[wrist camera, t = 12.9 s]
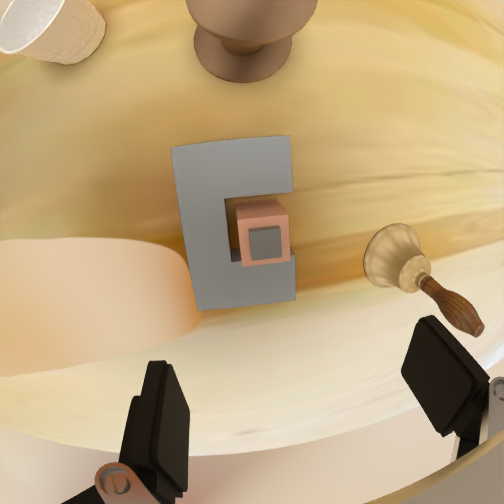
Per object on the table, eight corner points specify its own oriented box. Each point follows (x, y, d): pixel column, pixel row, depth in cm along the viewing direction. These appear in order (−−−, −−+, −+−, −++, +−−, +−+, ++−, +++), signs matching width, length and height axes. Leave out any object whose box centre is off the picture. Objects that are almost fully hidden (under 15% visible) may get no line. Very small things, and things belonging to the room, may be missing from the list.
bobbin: (197, 87, 23) (178, 55, 12) (193, 10, 19) (176, -49, 9) (293, 81, 23) (334, 49, 13) (284, 5, 20) (313, -51, 9)
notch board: (176, 146, 25) (170, 147, 22) (282, 135, 25) (289, 135, 22) (200, 295, 31) (197, 310, 28) (289, 285, 31) (295, 300, 29)
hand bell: (393, 209, 29) (495, 270, 14) (428, 247, 31) (514, 311, 17) (350, 266, 31) (425, 359, 16) (390, 296, 33) (458, 379, 19)
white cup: (54, 22, 17) (5, -2, 7) (114, -1, 17) (76, -41, 8) (48, 79, 20) (-10, 68, 10) (109, 58, 20) (60, 30, 11)
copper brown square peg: (235, 202, 27) (237, 222, 21) (275, 198, 27) (290, 217, 21) (239, 241, 29) (242, 271, 23) (278, 236, 29) (292, 265, 23)
